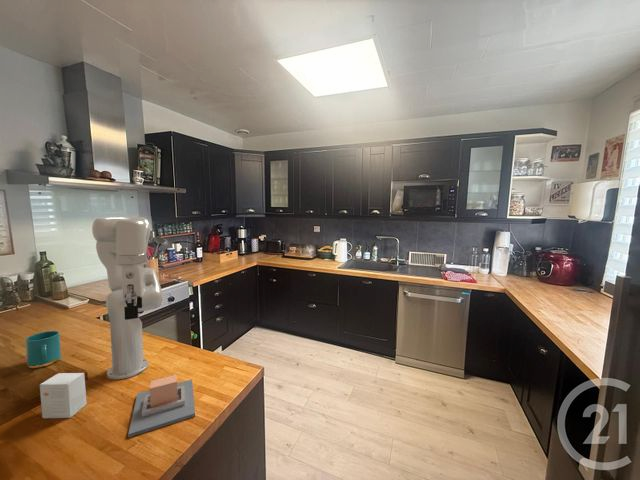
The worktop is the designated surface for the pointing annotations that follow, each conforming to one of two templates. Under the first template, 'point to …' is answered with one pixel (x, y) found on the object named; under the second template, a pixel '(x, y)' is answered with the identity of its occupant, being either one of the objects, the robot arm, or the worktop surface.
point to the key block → (163, 391)
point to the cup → (43, 348)
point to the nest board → (162, 410)
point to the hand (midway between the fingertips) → (134, 313)
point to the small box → (63, 395)
